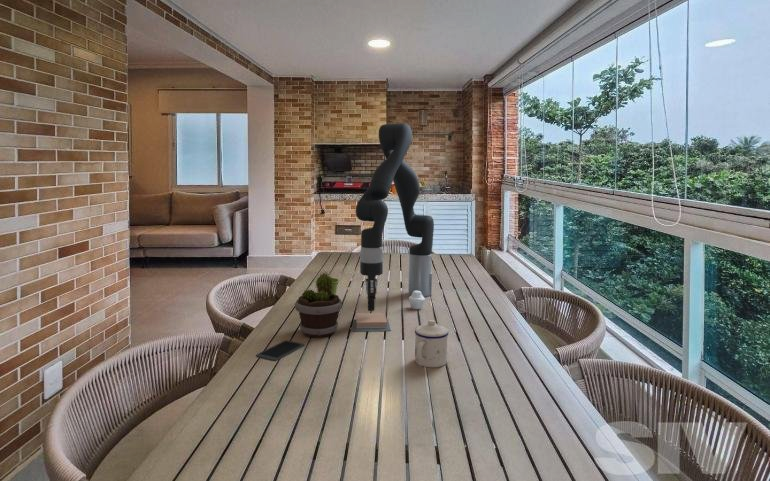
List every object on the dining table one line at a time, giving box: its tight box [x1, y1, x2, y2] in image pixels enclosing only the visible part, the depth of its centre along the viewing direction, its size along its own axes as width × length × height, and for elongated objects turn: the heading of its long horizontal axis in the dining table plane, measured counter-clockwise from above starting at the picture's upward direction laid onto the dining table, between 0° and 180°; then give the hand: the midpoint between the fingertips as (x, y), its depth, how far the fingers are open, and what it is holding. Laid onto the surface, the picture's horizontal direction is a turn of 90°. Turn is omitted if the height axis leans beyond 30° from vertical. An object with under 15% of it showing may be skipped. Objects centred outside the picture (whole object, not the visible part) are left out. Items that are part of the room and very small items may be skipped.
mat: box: [352, 318, 392, 333], centre depth 163 cm, size 12×12×1 cm
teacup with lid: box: [414, 319, 449, 368], centre depth 131 cm, size 12×9×12 cm
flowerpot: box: [294, 269, 343, 338], centre depth 154 cm, size 14×15×20 cm
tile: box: [355, 312, 387, 328], centre depth 164 cm, size 10×2×10 cm
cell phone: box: [255, 340, 305, 362], centre depth 140 cm, size 7×14×1 cm, turn 154°
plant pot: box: [314, 277, 340, 295], centre depth 190 cm, size 9×9×9 cm
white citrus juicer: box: [408, 291, 426, 310], centre depth 183 cm, size 6×6×7 cm
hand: (371, 310), depth 165 cm, fingers closed
